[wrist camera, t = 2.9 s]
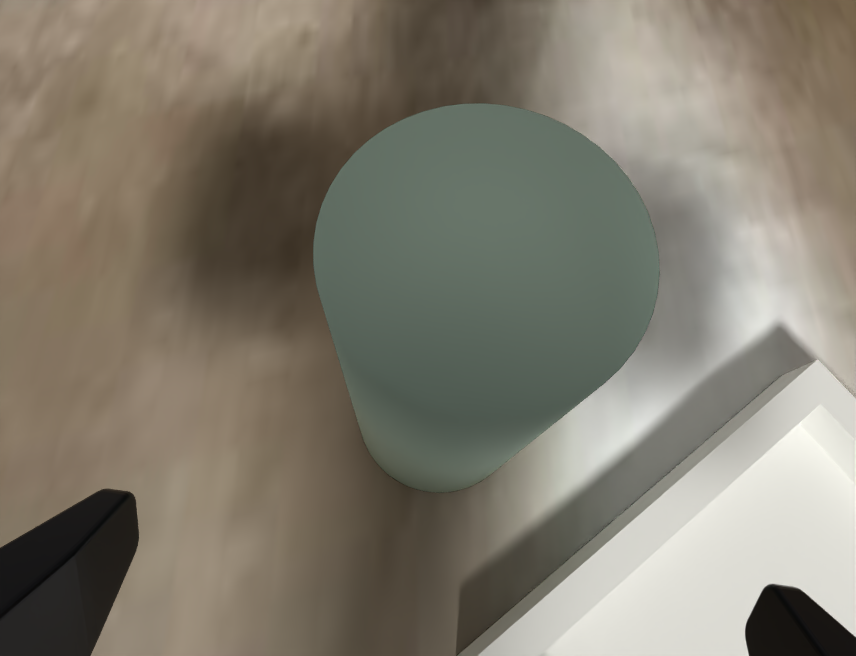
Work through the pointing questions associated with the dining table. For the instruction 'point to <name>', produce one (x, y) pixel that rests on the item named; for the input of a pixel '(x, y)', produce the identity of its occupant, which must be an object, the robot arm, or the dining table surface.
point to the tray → (711, 539)
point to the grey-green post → (479, 285)
